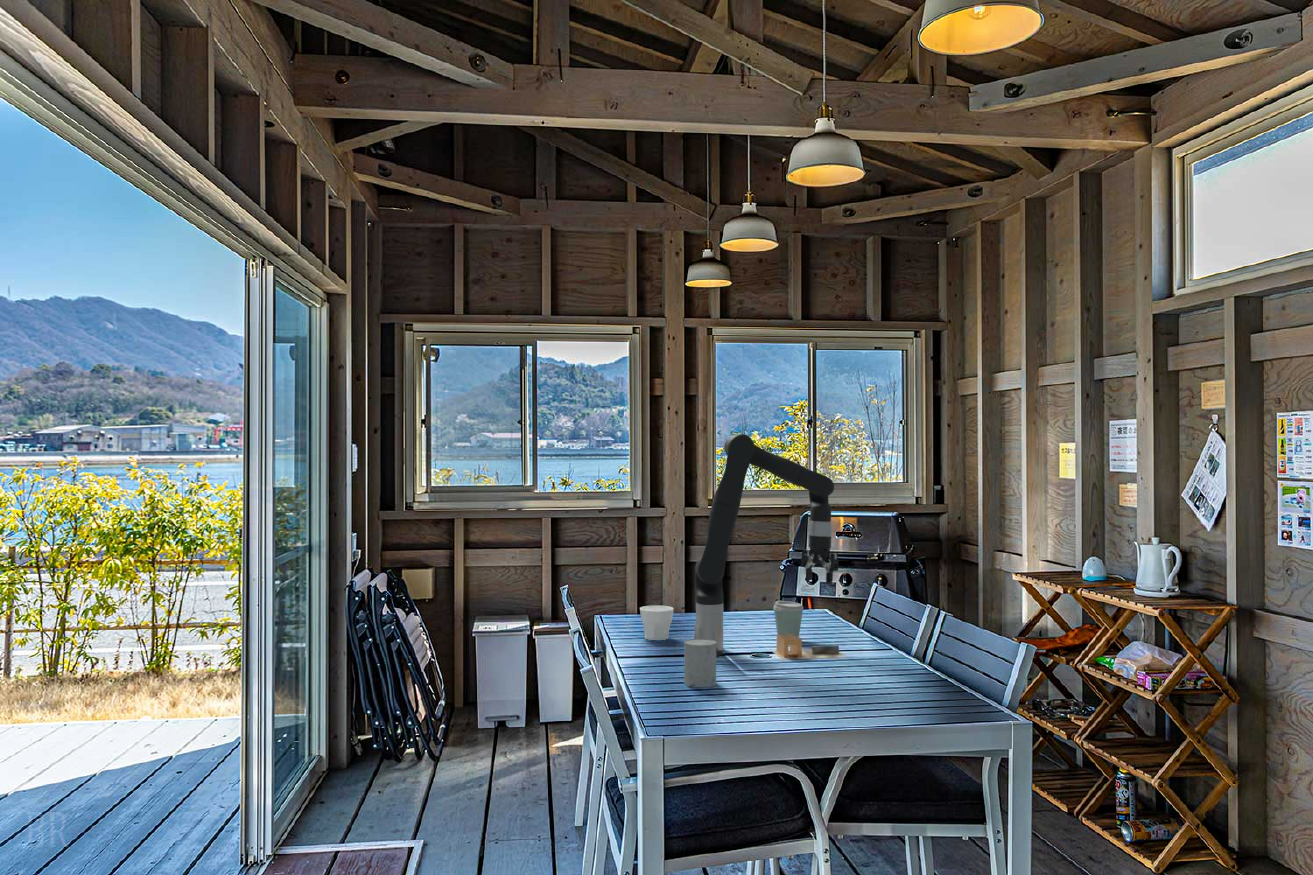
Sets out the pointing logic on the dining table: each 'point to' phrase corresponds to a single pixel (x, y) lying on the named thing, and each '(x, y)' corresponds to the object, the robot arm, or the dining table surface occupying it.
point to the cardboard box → (791, 640)
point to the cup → (656, 621)
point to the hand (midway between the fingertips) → (819, 581)
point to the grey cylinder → (700, 662)
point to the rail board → (816, 653)
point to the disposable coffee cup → (788, 617)
